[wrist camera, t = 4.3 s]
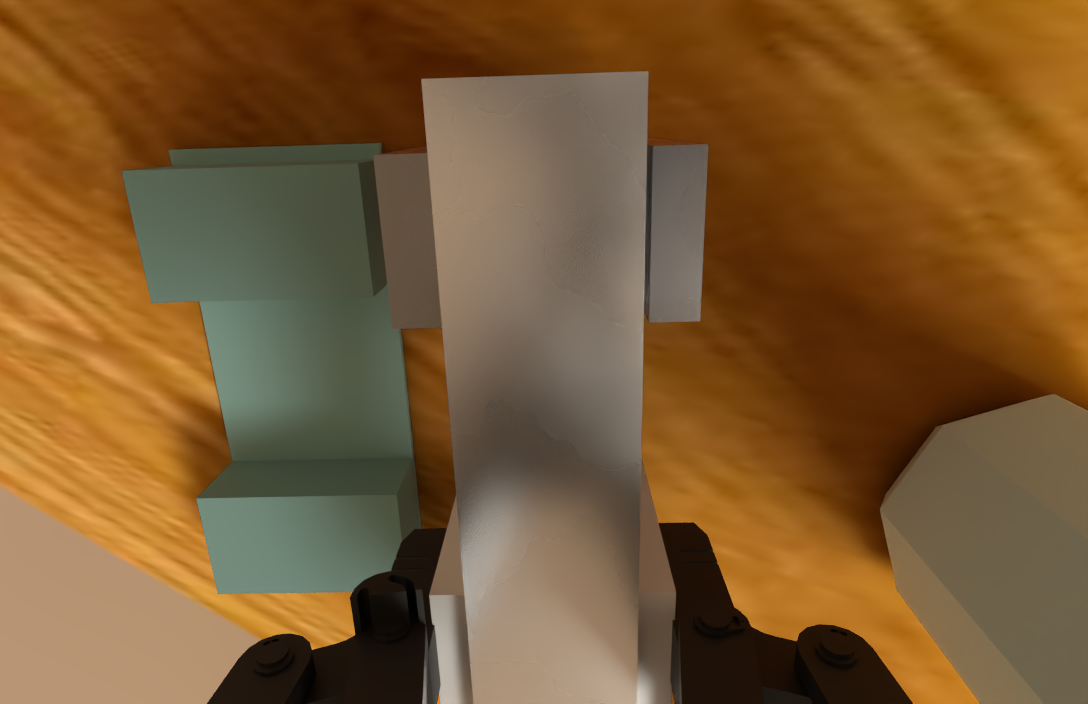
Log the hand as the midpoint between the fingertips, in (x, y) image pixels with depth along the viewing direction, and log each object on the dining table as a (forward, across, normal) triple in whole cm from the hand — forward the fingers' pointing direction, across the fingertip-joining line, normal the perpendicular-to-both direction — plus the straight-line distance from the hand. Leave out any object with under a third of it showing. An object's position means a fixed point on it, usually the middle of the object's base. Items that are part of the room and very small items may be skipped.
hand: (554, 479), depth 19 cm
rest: (+7, -9, +1) cm, 11 cm away
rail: (-3, 0, 0) cm, 3 cm away
